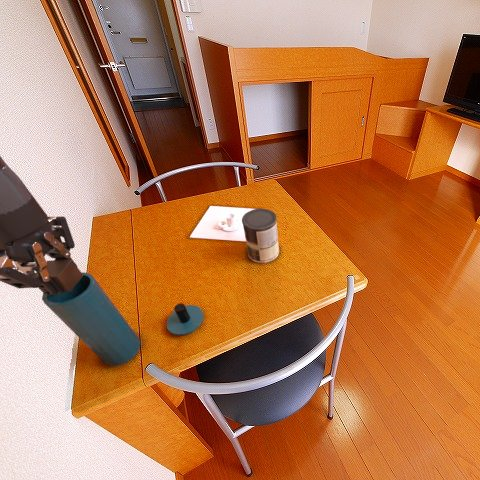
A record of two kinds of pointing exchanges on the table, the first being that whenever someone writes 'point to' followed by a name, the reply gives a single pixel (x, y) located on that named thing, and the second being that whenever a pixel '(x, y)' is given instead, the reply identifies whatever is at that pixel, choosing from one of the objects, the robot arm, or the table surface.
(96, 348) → the tin
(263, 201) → the table surface
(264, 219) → the coffee can
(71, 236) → the robot arm
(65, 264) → the block
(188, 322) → the lid
